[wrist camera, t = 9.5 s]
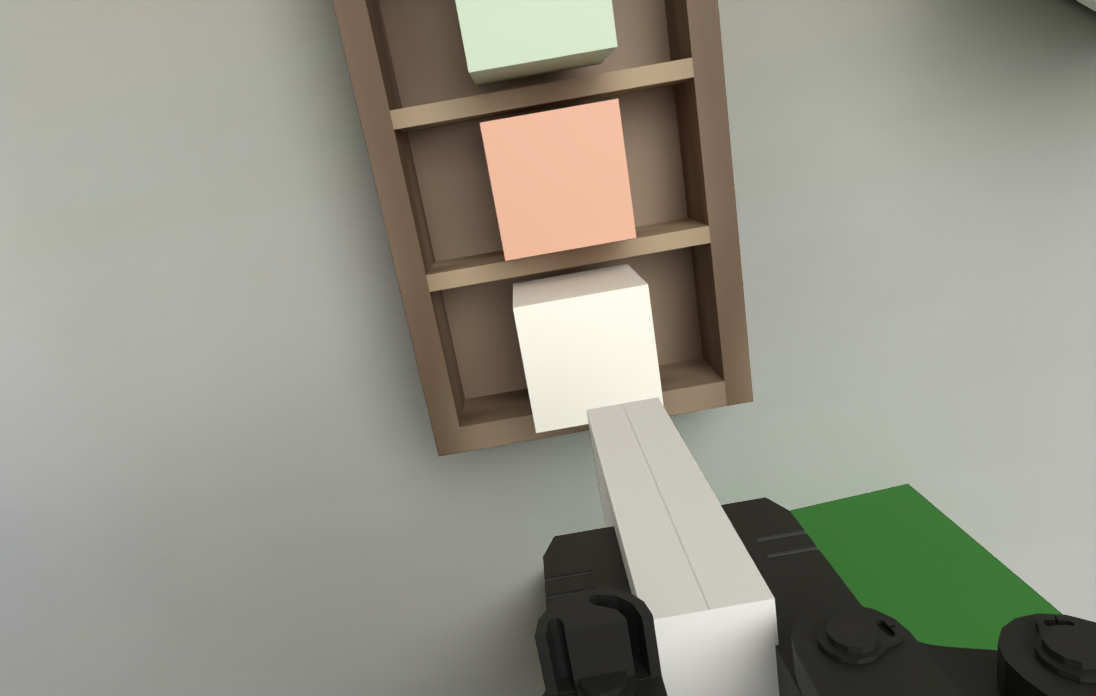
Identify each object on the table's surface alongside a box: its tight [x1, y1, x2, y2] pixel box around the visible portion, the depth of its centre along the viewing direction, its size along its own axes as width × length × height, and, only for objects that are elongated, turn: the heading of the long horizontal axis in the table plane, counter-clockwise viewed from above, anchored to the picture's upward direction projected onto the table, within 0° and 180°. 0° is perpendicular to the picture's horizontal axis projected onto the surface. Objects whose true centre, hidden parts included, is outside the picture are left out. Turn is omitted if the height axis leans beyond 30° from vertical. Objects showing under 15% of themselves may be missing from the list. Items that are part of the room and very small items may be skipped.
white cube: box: [513, 264, 664, 433], centre depth 23 cm, size 4×4×4 cm
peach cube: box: [480, 99, 636, 261], centre depth 23 cm, size 4×4×4 cm
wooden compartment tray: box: [332, 0, 753, 456], centre depth 25 cm, size 12×24×5 cm, turn 10°
